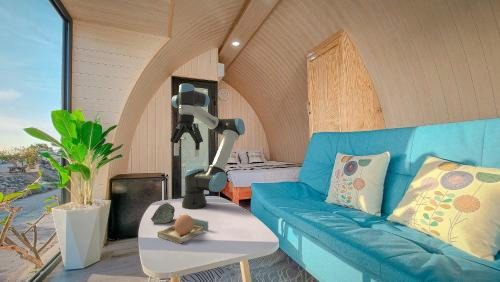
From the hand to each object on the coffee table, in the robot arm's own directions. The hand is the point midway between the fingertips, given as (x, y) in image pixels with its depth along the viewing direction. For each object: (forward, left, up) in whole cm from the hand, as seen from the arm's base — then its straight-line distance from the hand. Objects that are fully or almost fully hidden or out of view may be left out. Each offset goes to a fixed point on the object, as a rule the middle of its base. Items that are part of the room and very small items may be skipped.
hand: (186, 156), depth 112 cm
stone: (+6, -8, -33) cm, 34 cm away
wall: (+5, +10, -33) cm, 35 cm away
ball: (+14, +11, -32) cm, 36 cm away
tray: (+14, +11, -33) cm, 37 cm away
